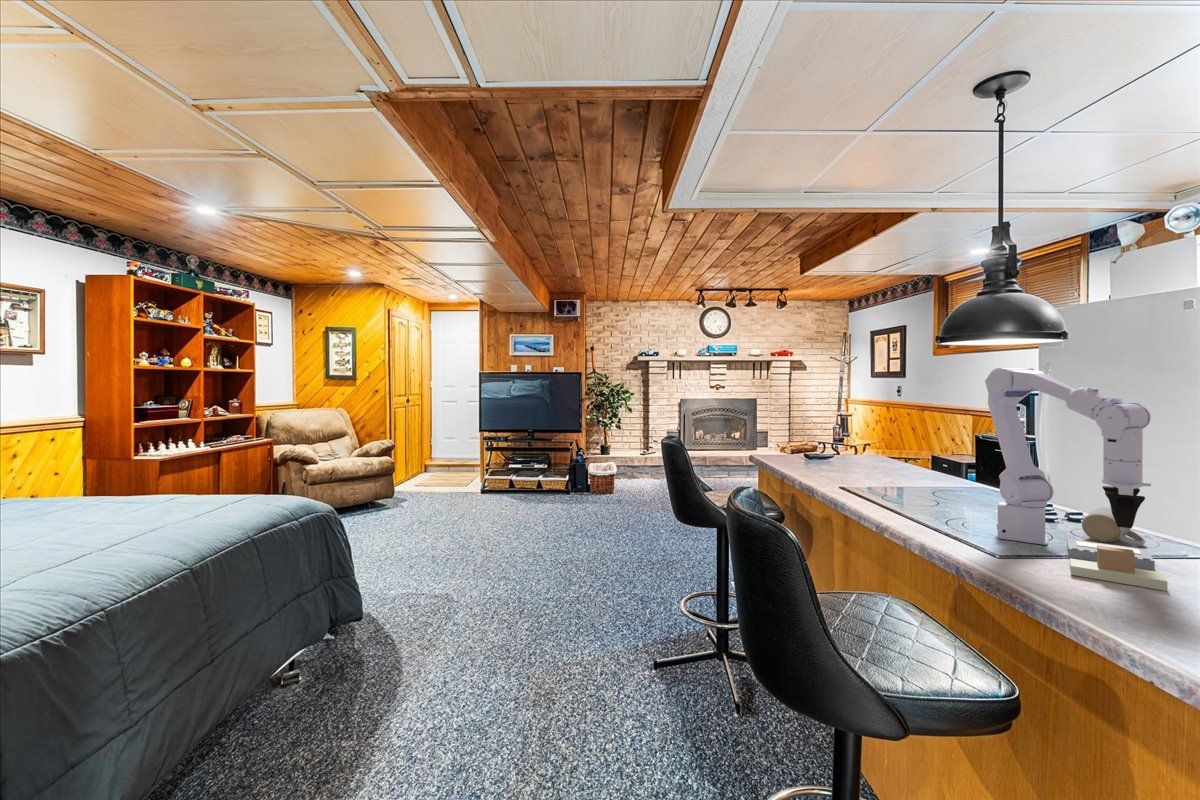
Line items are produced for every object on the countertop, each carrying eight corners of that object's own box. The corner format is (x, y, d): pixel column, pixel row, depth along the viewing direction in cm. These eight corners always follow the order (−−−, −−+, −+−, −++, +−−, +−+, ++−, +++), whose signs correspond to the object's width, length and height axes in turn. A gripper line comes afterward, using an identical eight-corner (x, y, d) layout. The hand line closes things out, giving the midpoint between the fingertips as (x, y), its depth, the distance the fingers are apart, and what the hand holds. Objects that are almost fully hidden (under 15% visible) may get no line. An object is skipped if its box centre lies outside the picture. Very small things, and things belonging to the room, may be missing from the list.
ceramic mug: (1079, 539, 124) (1080, 509, 124) (1088, 533, 129) (1089, 504, 129) (1141, 550, 116) (1141, 518, 115) (1148, 544, 120) (1149, 513, 120)
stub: (1071, 574, 100) (1070, 546, 100) (1070, 566, 105) (1069, 539, 105) (1167, 590, 92) (1167, 560, 92) (1161, 581, 96) (1161, 552, 96)
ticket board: (1068, 557, 111) (1068, 547, 111) (1067, 546, 118) (1067, 537, 118) (1154, 570, 102) (1154, 560, 102) (1147, 558, 110) (1147, 548, 110)
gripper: (1155, 465, 96) (1155, 534, 97) (1146, 457, 107) (1146, 519, 107) (1104, 462, 101) (1104, 528, 101) (1100, 455, 112) (1100, 514, 112)
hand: (1122, 523), depth 105 cm, fingers open, 7 cm apart
